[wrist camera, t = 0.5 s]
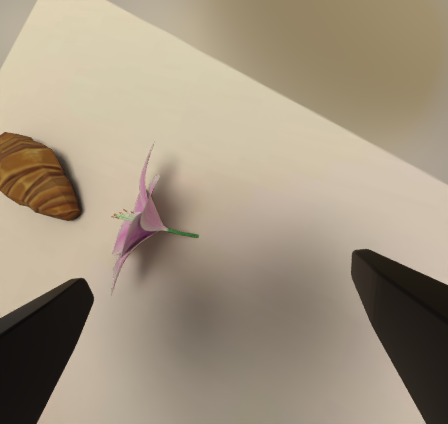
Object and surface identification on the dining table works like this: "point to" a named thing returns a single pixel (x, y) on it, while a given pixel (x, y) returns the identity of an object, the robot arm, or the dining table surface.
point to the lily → (139, 223)
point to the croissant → (35, 178)
